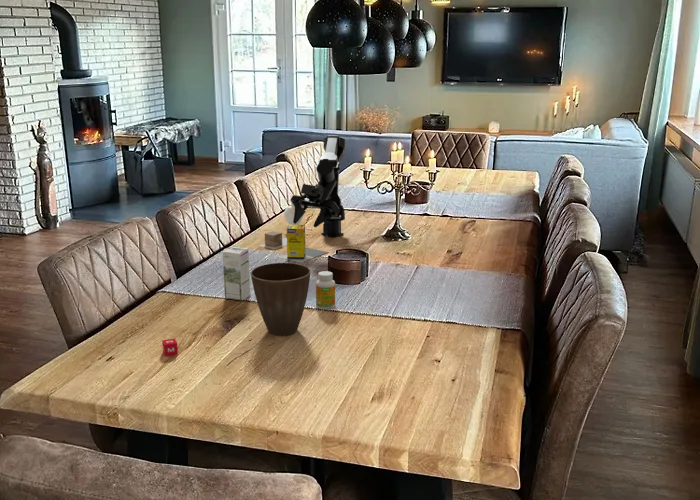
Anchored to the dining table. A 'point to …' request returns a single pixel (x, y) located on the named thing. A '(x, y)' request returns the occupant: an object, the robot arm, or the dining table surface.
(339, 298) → the dining table surface
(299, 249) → the supplement box
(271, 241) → the walnut block
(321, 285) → the supplement bottle
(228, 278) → the syrup box
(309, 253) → the plate
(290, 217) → the white vase
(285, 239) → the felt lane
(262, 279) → the plant pot
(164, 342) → the red letter cube
